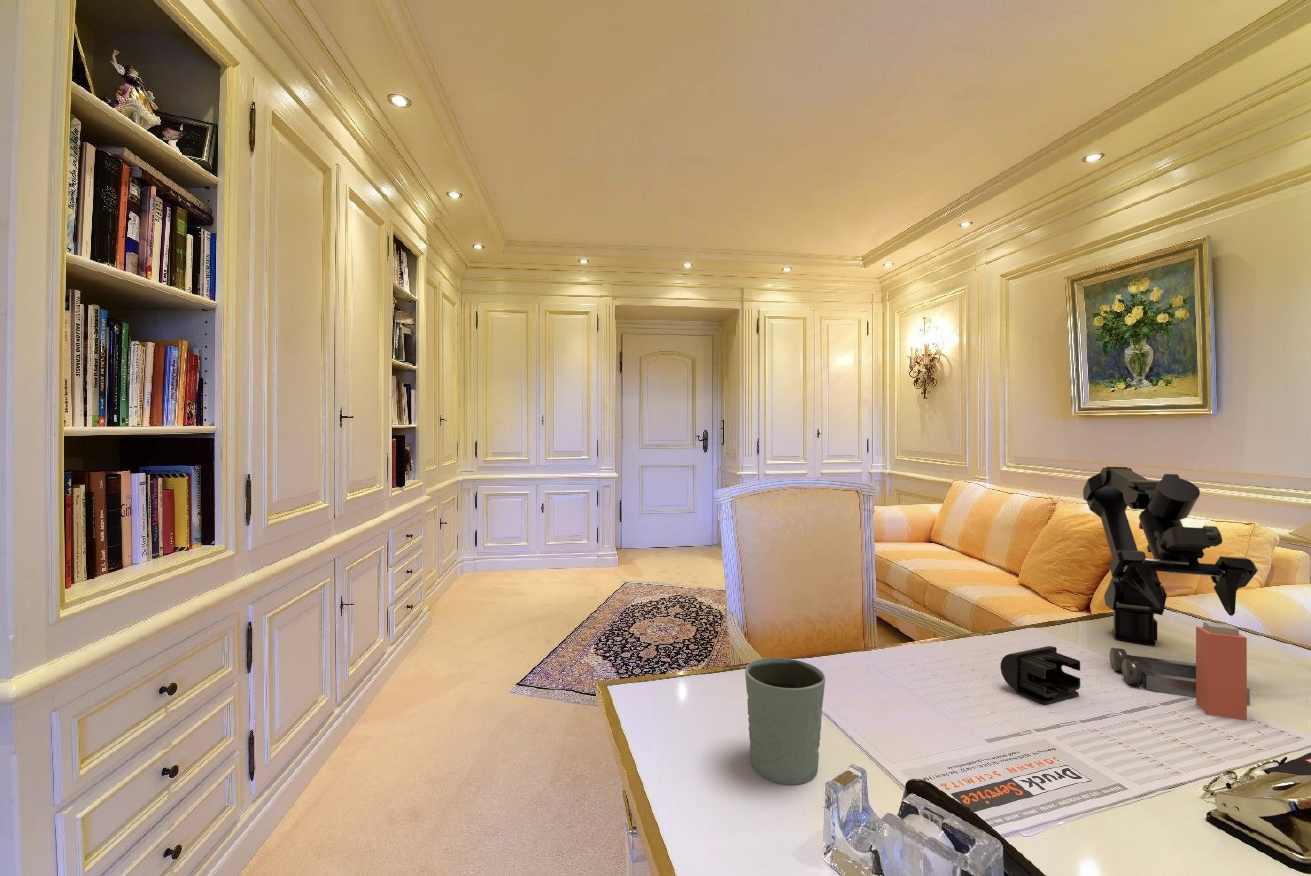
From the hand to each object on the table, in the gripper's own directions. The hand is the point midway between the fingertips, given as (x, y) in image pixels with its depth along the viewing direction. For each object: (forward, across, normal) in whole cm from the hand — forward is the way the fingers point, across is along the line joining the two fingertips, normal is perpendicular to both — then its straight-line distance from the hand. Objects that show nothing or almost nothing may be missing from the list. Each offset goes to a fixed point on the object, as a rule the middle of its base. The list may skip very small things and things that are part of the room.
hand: (1196, 611), depth 93 cm
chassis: (+8, -2, +11) cm, 14 cm away
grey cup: (+44, -61, -25) cm, 79 cm away
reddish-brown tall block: (+15, 0, +4) cm, 16 cm away
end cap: (+18, -24, +2) cm, 30 cm away
